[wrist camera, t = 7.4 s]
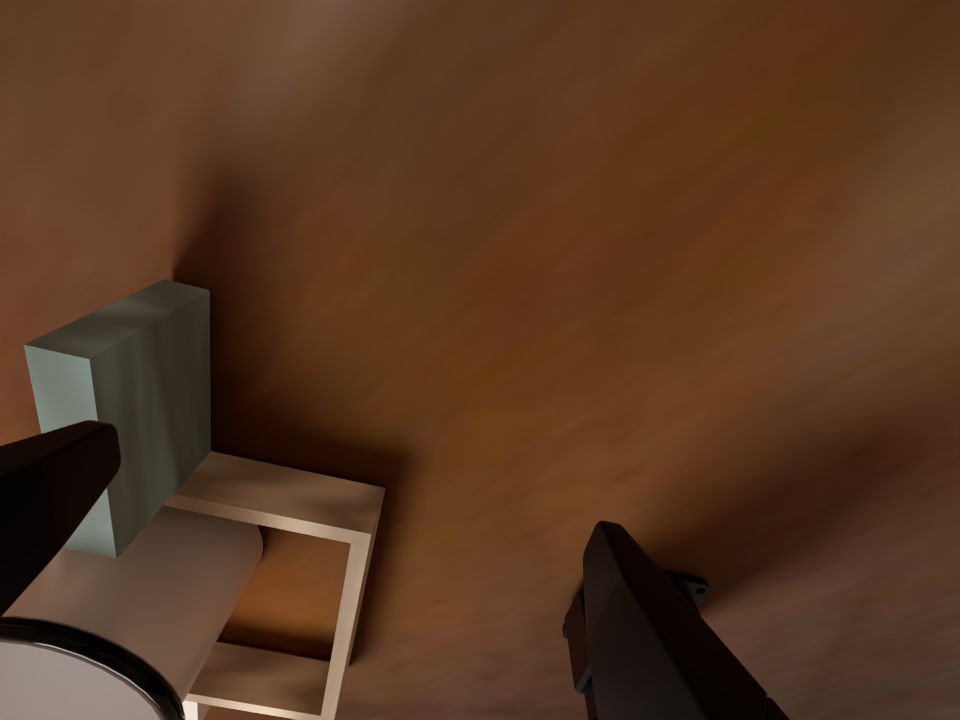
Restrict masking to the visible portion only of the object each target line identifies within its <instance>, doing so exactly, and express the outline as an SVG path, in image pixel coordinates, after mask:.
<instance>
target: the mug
mask: <svg viewBox="0 0 960 720" xmlns="http://www.w3.org/2000/svg"><path fill="white" fill-rule="evenodd" d="M262 552H263V542H262V536H261V533H260V531H259V528H258V526H257V524H252V523H247V522H242V521H237V520H232V519H227V518H223V517H218V516H213V515H208V514H203V513H198V512H193V511H188V510H183V509H178V508H173V507H168V506H162V508H161V509H160V510H159V511H158V512H157V513H156V514H155V516H154V517H153V518H152V519H151V520H150V521H149V522H148V524H147V525H146V526H145V527H144V528H143V529H142V530H141V532H140V533H139V534H138V535H137V536H136V537H135V538H134V540H133V541H132V542H131V543H130V544H129V545H128V546H127V548H126V549H125V550H124V551H123V552H122V553H121V554H120V556H119V557H118V558H117V559H114V558H108V557H103V556H98V555H93V554H87V553H82V552H77V551H72V550H66V549H65V546H63V547H62V549H61V550H60V551H59V552H58V553H57V555H56V556H55V557H54V558H53V559H52V560H51V562H50V563H49V564H48V565H47V566H46V567H45V568H44V570H43V571H42V572H41V573H40V574H39V575H38V576H37V577H36V579H35V580H34V581H33V582H32V583H31V584H30V585H29V586H28V588H27V589H26V590H25V591H24V592H23V593H22V594H21V595H20V597H19V598H18V599H17V600H16V601H15V602H14V603H13V604H12V606H11V607H10V608H9V609H8V610H7V611H6V612H5V613H4V615H3V616H2V617H1V618H0V720H185V718H186V717H185V712H184V708H183V704H182V703H183V701H184V699H185V698H186V696H187V694H188V692H189V690H190V688H191V687H192V685H193V683H194V681H195V679H196V677H197V676H198V674H199V672H200V670H201V668H202V666H203V665H204V663H205V661H206V659H207V657H208V655H209V654H210V652H211V650H212V648H213V646H214V644H215V643H216V641H217V639H218V637H219V635H220V633H221V632H222V630H223V628H224V626H225V624H226V622H227V621H228V619H229V617H230V615H231V613H232V611H233V610H234V608H235V606H236V604H237V602H238V600H239V599H240V597H241V595H242V593H243V591H244V589H245V588H246V586H247V584H248V582H249V580H250V578H251V577H252V575H253V573H254V571H255V569H256V567H257V566H258V564H259V562H260V560H261V557H262Z"/></svg>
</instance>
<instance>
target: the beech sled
mask: <svg viewBox="0 0 960 720" xmlns="http://www.w3.org/2000/svg"><path fill="white" fill-rule="evenodd" d="M24 348H25V353H26V358H27V363H28V368H29V373H30V378H31V383H32V388H33V393H34V398H35V403H36V408H37V412H38V417H39V422H40V427H41V432H42V434H43V433H46V432H49V431H52V430H56V429H59V428H62V427H66V426H69V425H72V424H75V423H79V422H82V421H86V420H95V421H100V422H105V423H110V424H112V425H114V426H115V427H116V429H117V432H118V439H119V446H120V453H121V465H120V469H119V471H118V473H117V474H116V476H115V477H114V478H113V480H112V481H111V483H110V484H109V485H108V487H107V488H106V489H105V491H104V492H103V494H102V495H101V496H100V498H99V499H98V500H97V502H96V503H95V504H94V506H93V507H92V509H91V510H90V511H89V513H88V514H87V515H86V517H85V518H84V519H83V521H82V522H81V524H80V525H79V526H78V528H77V529H76V530H75V532H74V533H73V534H72V536H71V537H70V538H69V540H68V541H67V542H66V544H65V545H64V546H65V549H66V550H72V551H77V552H82V553H87V554H93V555H98V556H103V557H108V558H114V559H117V558H118V557H119V556H120V554H121V553H122V552H123V551H124V550H125V549H126V548H127V546H128V545H129V544H130V543H131V542H132V541H133V540H134V538H135V537H136V536H137V535H138V534H139V533H140V532H141V530H142V529H143V528H144V527H145V526H146V525H147V524H148V522H149V521H150V520H151V519H152V518H153V517H154V516H155V514H156V513H157V512H158V511H159V510H160V509H161V508H162V506H168V507H173V508H178V509H183V510H188V511H193V512H198V513H203V514H208V515H213V516H218V517H223V518H227V519H232V520H237V521H242V522H247V523H252V524H257V525H262V526H267V527H272V528H277V529H282V530H287V531H292V532H297V533H302V534H307V535H312V536H317V537H322V538H327V539H332V540H337V541H342V542H347V543H351V548H350V554H349V559H348V565H347V570H346V576H345V582H344V587H343V593H342V599H341V604H340V610H339V616H338V621H337V627H336V633H335V638H334V644H333V650H332V655H331V661H330V662H324V661H319V660H313V659H308V658H302V657H297V656H291V655H285V654H280V653H274V652H269V651H263V650H258V649H252V648H247V647H241V646H235V645H230V644H224V643H219V642H216V643H215V644H214V646H213V648H212V650H211V652H210V654H209V655H208V657H207V659H206V661H205V663H204V665H203V666H202V668H201V670H200V672H199V674H198V676H197V677H196V679H195V681H194V683H193V685H192V687H191V688H190V690H189V692H188V694H187V696H186V698H185V699H184V701H190V702H196V703H202V704H208V705H214V706H220V707H226V708H232V709H238V710H244V711H249V712H255V713H261V714H267V715H273V716H279V717H285V718H291V719H297V720H335V716H336V713H337V709H338V705H339V702H340V698H341V694H342V691H343V687H344V683H345V680H346V676H347V672H348V667H349V662H350V658H351V653H352V648H353V643H354V638H355V633H356V629H357V624H358V619H359V614H360V609H361V604H362V600H363V595H364V590H365V585H366V580H367V575H368V571H369V566H370V561H371V556H372V551H373V546H374V542H375V537H376V532H377V527H378V522H379V517H380V513H381V508H382V503H383V498H384V493H385V488H383V487H378V486H373V485H369V484H364V483H359V482H355V481H350V480H345V479H340V478H336V477H331V476H326V475H321V474H317V473H312V472H307V471H303V470H298V469H293V468H288V467H284V466H279V465H274V464H269V463H265V462H260V461H255V460H251V459H246V458H241V457H236V456H232V455H227V454H222V453H217V452H213V451H211V383H210V290H207V289H203V288H199V287H195V286H190V285H186V284H182V283H178V282H174V281H169V280H162V281H160V282H158V283H156V284H154V285H152V286H149V287H147V288H145V289H143V290H141V291H139V292H136V293H134V294H132V295H130V296H128V297H126V298H124V299H121V300H119V301H117V302H115V303H113V304H111V305H108V306H106V307H104V308H102V309H100V310H98V311H96V312H93V313H91V314H89V315H87V316H85V317H83V318H80V319H78V320H76V321H74V322H72V323H70V324H68V325H65V326H63V327H61V328H59V329H57V330H55V331H52V332H50V333H48V334H46V335H44V336H42V337H39V338H37V339H35V340H33V341H31V342H29V343H27V344H24Z"/></svg>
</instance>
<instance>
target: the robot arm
mask: <svg viewBox="0 0 960 720" xmlns="http://www.w3.org/2000/svg"><path fill="white" fill-rule="evenodd" d="M120 465H121V453H120V446H119V439H118V432H117V429H116V427H115V426H114V425H112V424H110V423H105V422H100V421H95V420H86V421H82V422H79V423H75V424H72V425H69V426H66V427H62V428H59V429H56V430H52V431H49V432H46V433H43V434H39V435H36V436H33V437H29V438H26V439H23V440H19V441H16V442H13V443H10V444H6V445H3V446H0V618H1V617H2V616H3V615H4V613H5V612H6V611H7V610H8V609H9V608H10V607H11V606H12V604H13V603H14V602H15V601H16V600H17V599H18V598H19V597H20V595H21V594H22V593H23V592H24V591H25V590H26V589H27V588H28V586H29V585H30V584H31V583H32V582H33V581H34V580H35V579H36V577H37V576H38V575H39V574H40V573H41V572H42V571H43V570H44V568H45V567H46V566H47V565H48V564H49V563H50V562H51V560H52V559H53V558H54V557H55V556H56V555H57V553H58V552H59V551H60V550H61V549H62V547H63V546H64V545H65V544H66V542H67V541H68V540H69V538H70V537H71V536H72V534H73V533H74V532H75V530H76V529H77V528H78V526H79V525H80V524H81V522H82V521H83V519H84V518H85V517H86V515H87V514H88V513H89V511H90V510H91V509H92V507H93V506H94V504H95V503H96V502H97V500H98V499H99V498H100V496H101V495H102V494H103V492H104V491H105V489H106V488H107V487H108V485H109V484H110V483H111V481H112V480H113V478H114V477H115V476H116V474H117V473H118V471H119V469H120ZM583 576H584V586H583V588H581V589H580V590H579V591H578V593H577V595H576V597H575V599H574V601H573V603H572V605H571V607H570V609H569V610H568V612H567V614H566V616H565V623H564V625H563V627H562V630H563V636H564V637H565V638H566V639H568V645H569V652H570V659H571V666H572V674H573V681H574V688H575V690H576V691H577V693H578V694H581V695H585V701H586V708H587V714H588V720H790V719H789V718H788V717H787V716H786V714H785V713H784V712H783V711H782V710H781V709H780V707H779V706H778V705H777V704H776V703H775V702H774V701H773V699H772V698H769V697H768V698H767V693H766V692H765V690H764V689H763V688H762V687H761V686H760V685H759V683H758V682H757V681H756V680H755V679H754V678H753V676H752V675H751V674H750V673H749V672H748V671H747V670H746V668H745V667H744V666H743V665H742V664H741V663H740V661H739V660H738V659H737V658H736V657H735V656H734V655H733V653H732V652H731V651H730V650H729V649H728V648H727V646H726V645H725V644H724V643H723V642H722V641H721V640H720V638H719V637H718V636H717V635H716V634H715V633H714V631H713V630H712V629H711V628H710V627H709V626H708V625H707V623H706V622H705V621H704V620H703V619H702V618H701V615H700V613H699V610H698V608H699V607H700V605H701V604H702V603H703V601H704V600H705V598H706V597H707V595H708V594H709V592H710V587H709V585H708V583H707V581H706V580H704V579H702V578H697V577H692V576H687V575H682V574H677V573H673V572H668V571H663V570H660V569H659V568H658V567H657V566H656V564H655V563H654V562H653V561H652V560H651V559H650V557H649V556H648V555H647V554H646V553H645V552H644V551H643V549H642V548H641V547H640V546H639V545H638V544H637V542H636V541H635V540H634V539H633V538H632V537H631V536H630V534H629V533H628V532H627V531H626V530H625V529H624V527H622V526H621V525H620V524H618V523H613V522H608V521H599V522H598V523H597V524H596V526H595V528H594V530H593V532H592V535H591V537H590V539H589V541H588V544H587V546H586V548H585V551H584V555H583Z"/></svg>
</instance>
